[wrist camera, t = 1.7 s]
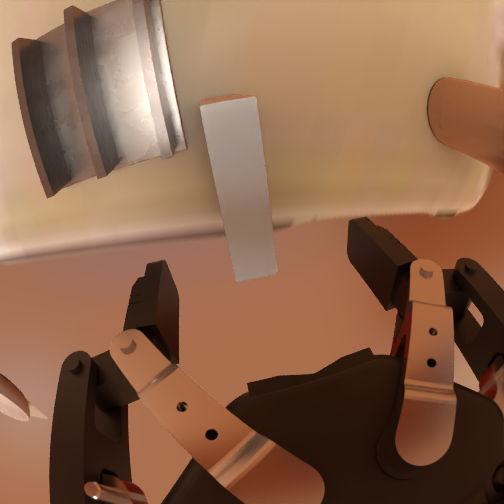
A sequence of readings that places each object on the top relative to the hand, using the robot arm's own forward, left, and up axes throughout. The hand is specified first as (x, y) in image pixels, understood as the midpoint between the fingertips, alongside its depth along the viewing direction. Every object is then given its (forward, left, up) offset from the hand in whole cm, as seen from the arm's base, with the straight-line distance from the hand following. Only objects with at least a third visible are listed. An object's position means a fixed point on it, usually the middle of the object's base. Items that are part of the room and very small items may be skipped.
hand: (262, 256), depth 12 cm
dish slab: (0, 0, -16) cm, 16 cm away
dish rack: (+10, -10, -16) cm, 21 cm away
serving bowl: (+66, +32, -16) cm, 75 cm away
